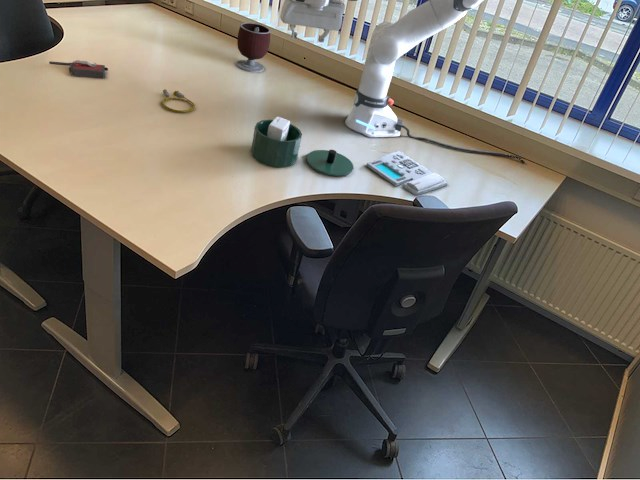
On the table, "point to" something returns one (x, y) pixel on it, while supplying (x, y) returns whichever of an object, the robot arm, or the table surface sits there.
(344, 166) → the tin lid
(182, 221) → the table surface
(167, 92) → the extension cord
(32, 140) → the table surface
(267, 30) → the mate gourd
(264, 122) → the tin
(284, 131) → the ink box
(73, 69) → the walkie-talkie
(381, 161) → the office telephone
